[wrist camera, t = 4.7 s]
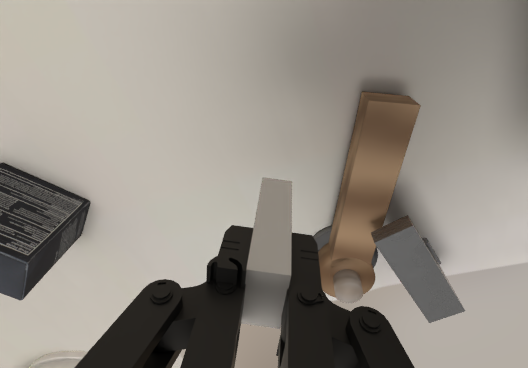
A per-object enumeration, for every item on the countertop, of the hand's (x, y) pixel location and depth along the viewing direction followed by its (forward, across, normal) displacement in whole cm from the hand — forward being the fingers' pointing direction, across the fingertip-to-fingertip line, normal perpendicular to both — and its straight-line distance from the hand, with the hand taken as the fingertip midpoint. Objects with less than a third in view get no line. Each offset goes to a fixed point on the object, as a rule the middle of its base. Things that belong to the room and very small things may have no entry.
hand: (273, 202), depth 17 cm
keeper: (+16, +14, -11) cm, 24 cm away
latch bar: (+14, +9, -8) cm, 19 cm away
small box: (+16, -27, -14) cm, 35 cm away
